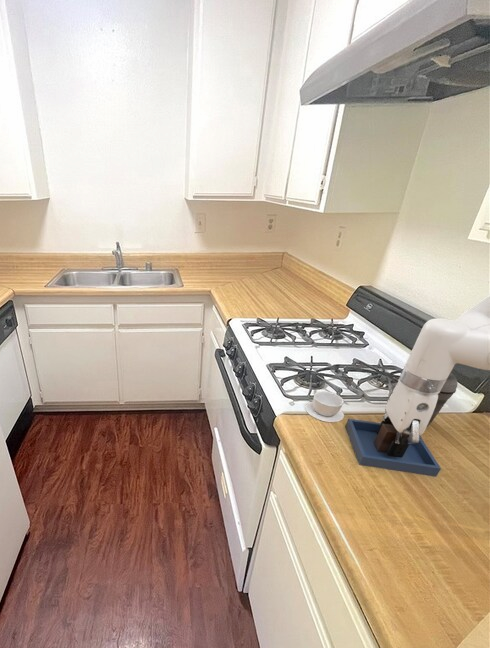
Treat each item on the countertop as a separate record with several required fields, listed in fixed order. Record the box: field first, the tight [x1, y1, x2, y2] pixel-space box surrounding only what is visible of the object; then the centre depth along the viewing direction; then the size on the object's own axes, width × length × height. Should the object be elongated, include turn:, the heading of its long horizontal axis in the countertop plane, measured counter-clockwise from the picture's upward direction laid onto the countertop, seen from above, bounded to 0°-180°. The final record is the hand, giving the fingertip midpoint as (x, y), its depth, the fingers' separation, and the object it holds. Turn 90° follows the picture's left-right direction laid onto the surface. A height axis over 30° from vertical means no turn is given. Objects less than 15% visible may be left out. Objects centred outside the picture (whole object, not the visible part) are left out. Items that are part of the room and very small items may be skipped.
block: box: [374, 424, 408, 453], centre depth 80 cm, size 5×3×6 cm, turn 78°
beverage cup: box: [426, 371, 458, 428], centre depth 86 cm, size 7×7×20 cm
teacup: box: [304, 390, 345, 423], centre depth 93 cm, size 10×10×5 cm
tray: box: [344, 418, 442, 478], centre depth 81 cm, size 16×15×3 cm
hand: (388, 444), depth 81 cm, fingers open, 6 cm apart
